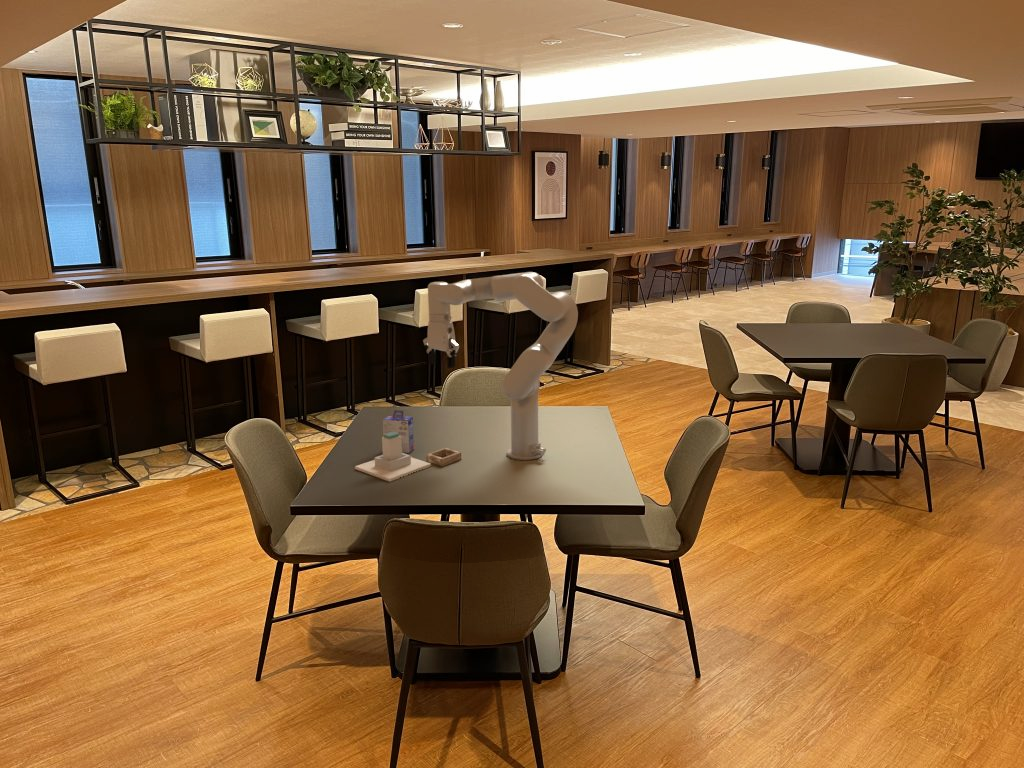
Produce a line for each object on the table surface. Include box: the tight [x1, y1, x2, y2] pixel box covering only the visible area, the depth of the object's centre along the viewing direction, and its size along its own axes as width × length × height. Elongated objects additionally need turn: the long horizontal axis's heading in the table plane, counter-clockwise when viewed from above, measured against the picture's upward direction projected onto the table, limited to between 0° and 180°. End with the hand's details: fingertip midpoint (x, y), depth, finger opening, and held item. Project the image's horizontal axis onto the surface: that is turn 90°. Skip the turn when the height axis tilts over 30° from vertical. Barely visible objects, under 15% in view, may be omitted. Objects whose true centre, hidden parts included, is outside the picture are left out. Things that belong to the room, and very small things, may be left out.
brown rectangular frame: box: [425, 447, 462, 467], centre depth 267 cm, size 8×9×2 cm
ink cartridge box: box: [382, 409, 415, 454], centre depth 277 cm, size 10×6×14 cm, turn 78°
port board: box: [354, 453, 432, 482], centre depth 261 cm, size 18×18×4 cm
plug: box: [381, 432, 402, 461], centre depth 260 cm, size 4×5×11 cm
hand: (441, 365), depth 274 cm, fingers open, 9 cm apart
